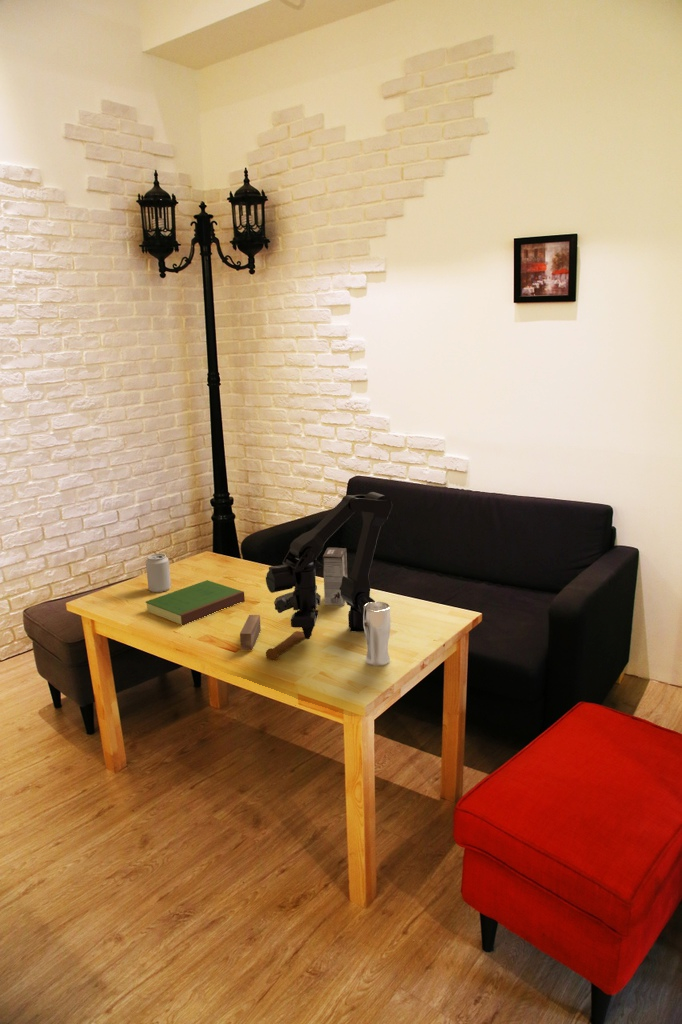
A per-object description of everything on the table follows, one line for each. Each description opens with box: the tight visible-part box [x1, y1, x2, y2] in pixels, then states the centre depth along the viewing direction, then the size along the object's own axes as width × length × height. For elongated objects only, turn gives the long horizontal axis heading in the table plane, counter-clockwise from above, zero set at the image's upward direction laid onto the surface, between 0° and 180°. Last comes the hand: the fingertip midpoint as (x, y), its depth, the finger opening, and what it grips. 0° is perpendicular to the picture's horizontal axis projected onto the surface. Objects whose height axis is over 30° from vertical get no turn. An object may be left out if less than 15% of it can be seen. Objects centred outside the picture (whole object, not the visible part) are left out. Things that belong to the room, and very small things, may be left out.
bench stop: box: [239, 614, 262, 651], centre depth 196 cm, size 3×13×5 cm, turn 176°
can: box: [145, 553, 172, 593], centre depth 239 cm, size 8×8×12 cm
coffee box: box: [322, 547, 348, 606], centre depth 223 cm, size 9×6×16 cm
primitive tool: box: [265, 630, 313, 661], centre depth 192 cm, size 19×6×4 cm, turn 158°
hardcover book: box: [145, 579, 245, 626], centre depth 224 cm, size 25×19×4 cm
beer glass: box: [363, 601, 392, 667], centre depth 180 cm, size 7×7×15 cm
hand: (307, 638), depth 194 cm, fingers closed
